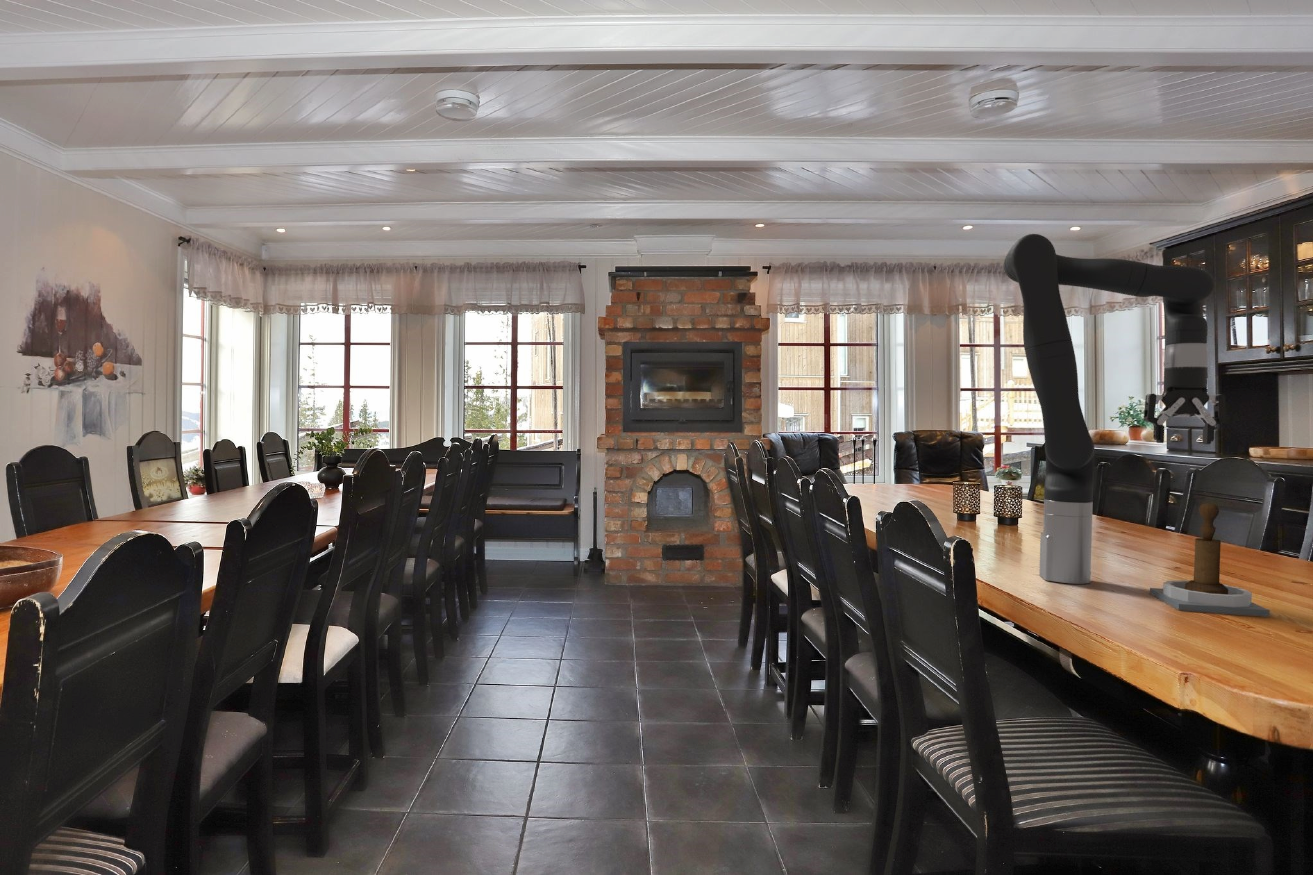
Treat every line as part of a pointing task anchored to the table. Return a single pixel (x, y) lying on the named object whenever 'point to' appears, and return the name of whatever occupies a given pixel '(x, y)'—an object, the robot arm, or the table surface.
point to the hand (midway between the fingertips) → (1183, 443)
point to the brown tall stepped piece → (1207, 556)
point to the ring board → (1210, 608)
